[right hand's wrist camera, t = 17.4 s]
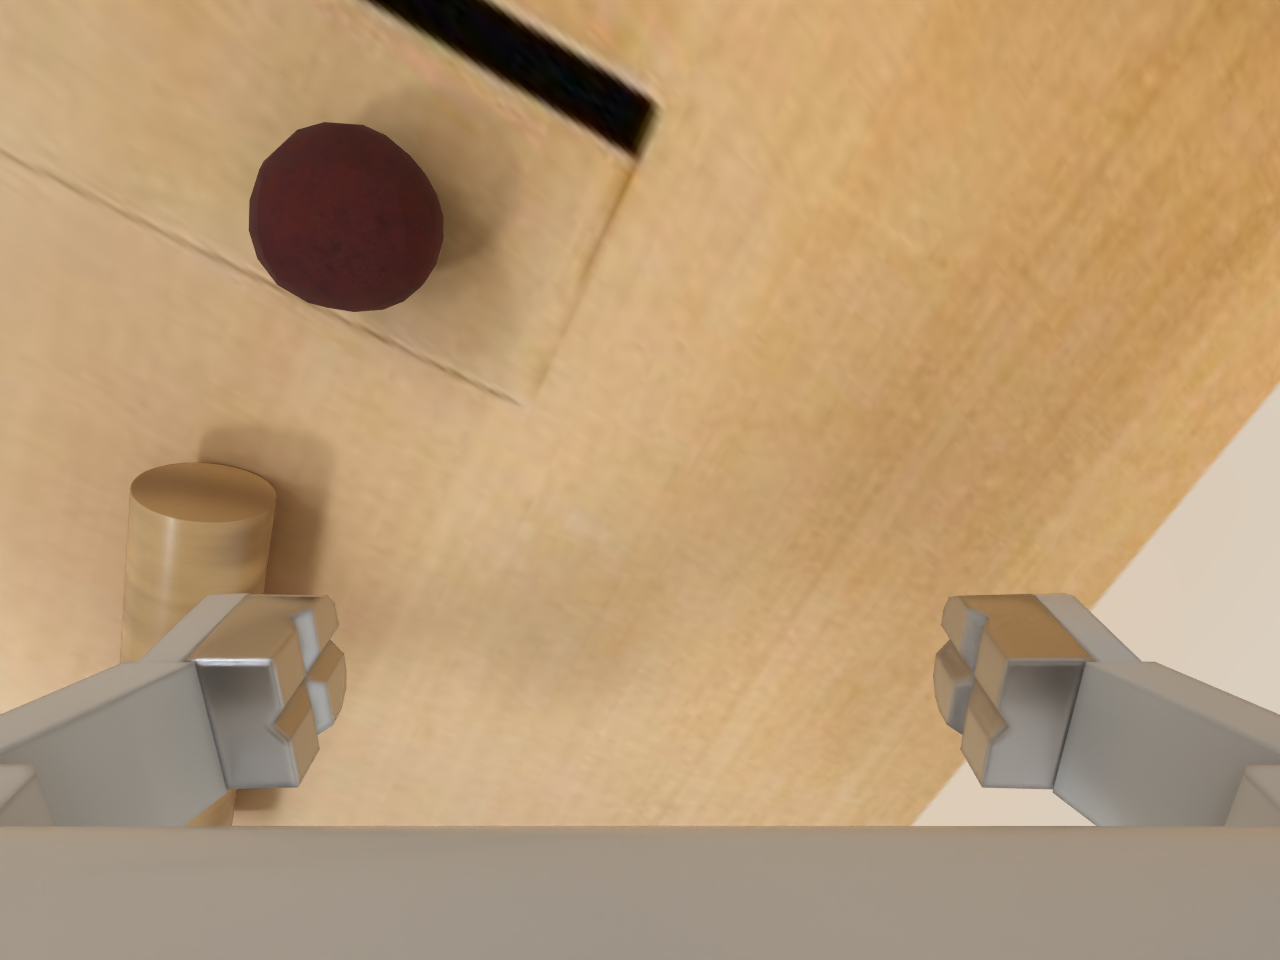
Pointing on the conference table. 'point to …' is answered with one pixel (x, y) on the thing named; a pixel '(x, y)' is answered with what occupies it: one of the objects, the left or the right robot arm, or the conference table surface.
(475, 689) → the conference table surface
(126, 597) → the rod
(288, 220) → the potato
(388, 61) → the conference table surface
